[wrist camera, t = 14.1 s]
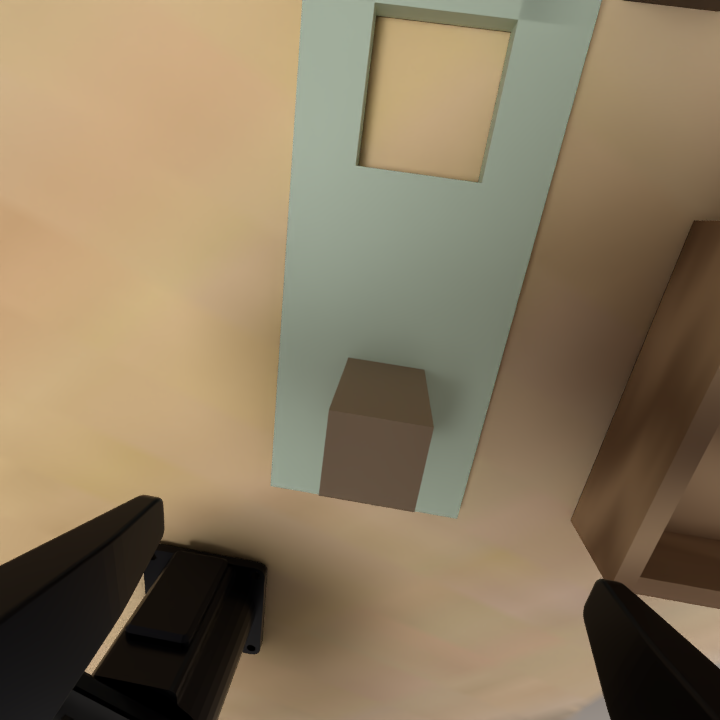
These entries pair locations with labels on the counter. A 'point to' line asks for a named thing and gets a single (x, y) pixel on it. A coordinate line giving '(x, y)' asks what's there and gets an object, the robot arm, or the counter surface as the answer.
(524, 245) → the lid
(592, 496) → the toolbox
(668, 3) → the key peg
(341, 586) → the counter surface
